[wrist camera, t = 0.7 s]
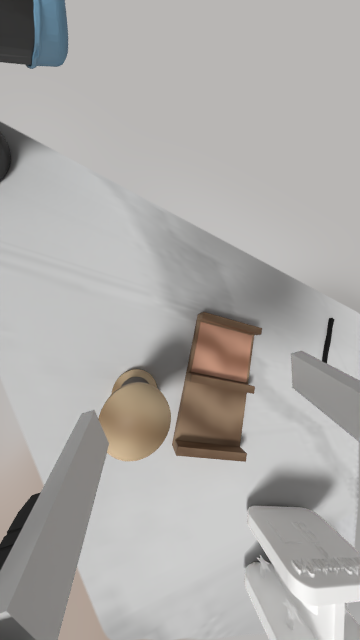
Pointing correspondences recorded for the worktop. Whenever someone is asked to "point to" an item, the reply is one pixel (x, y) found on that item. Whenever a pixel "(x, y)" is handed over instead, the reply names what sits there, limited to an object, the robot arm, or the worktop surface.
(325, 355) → the black pen
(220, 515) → the worktop surface
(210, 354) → the slot cradle
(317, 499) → the worktop surface
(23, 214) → the worktop surface
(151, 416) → the cord spool
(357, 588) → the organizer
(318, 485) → the worktop surface
